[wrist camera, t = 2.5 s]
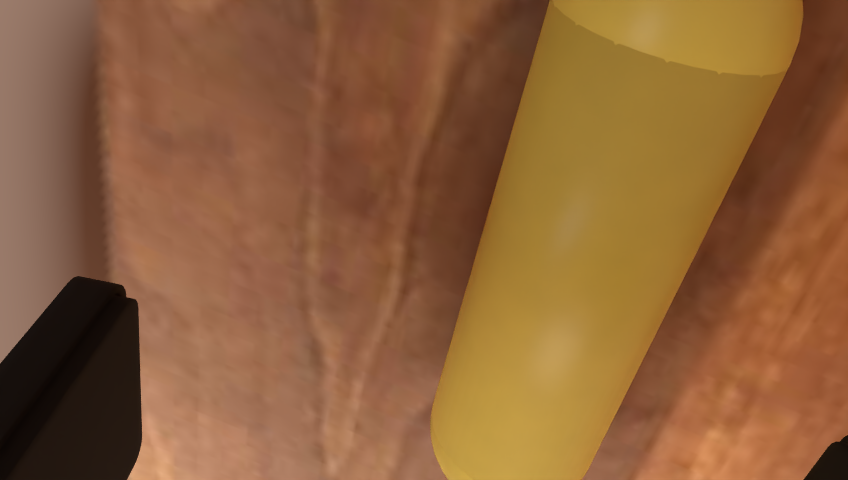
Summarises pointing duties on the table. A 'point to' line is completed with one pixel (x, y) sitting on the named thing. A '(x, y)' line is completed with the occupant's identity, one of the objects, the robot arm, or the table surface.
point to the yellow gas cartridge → (599, 220)
